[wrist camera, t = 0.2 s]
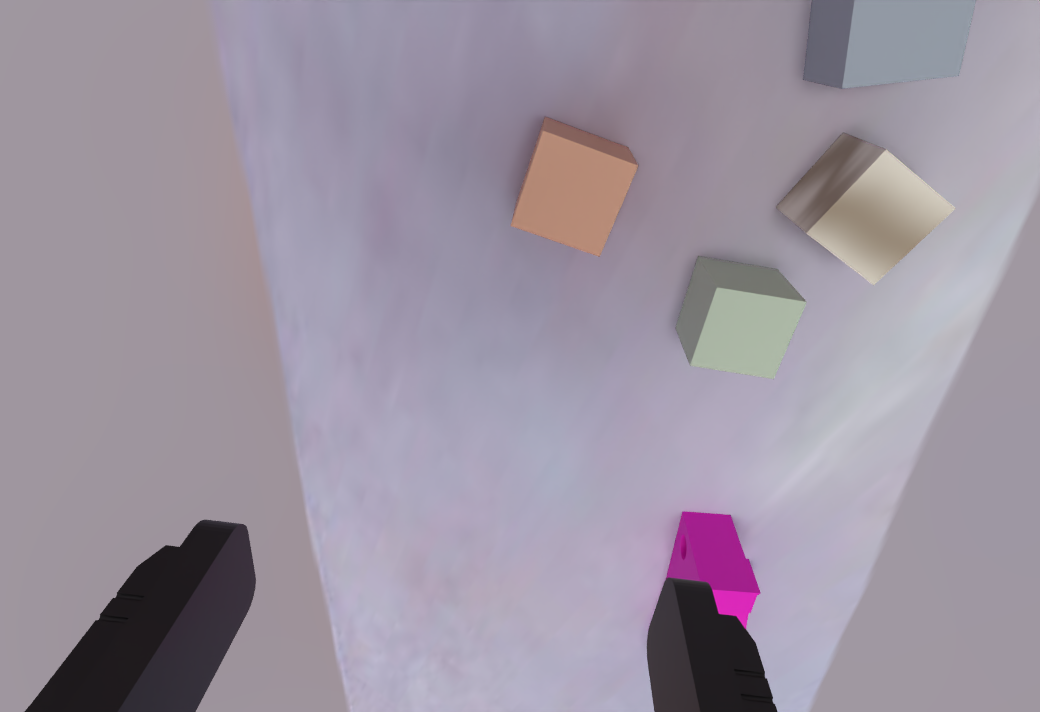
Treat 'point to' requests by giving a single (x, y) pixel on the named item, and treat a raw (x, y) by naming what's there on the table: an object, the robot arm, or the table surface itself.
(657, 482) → the table surface
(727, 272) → the cube sage
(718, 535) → the toy block
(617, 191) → the cube terracotta
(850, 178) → the cube cream
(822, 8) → the cube slate
